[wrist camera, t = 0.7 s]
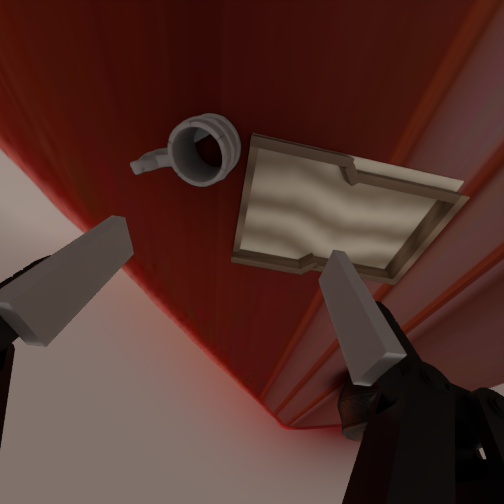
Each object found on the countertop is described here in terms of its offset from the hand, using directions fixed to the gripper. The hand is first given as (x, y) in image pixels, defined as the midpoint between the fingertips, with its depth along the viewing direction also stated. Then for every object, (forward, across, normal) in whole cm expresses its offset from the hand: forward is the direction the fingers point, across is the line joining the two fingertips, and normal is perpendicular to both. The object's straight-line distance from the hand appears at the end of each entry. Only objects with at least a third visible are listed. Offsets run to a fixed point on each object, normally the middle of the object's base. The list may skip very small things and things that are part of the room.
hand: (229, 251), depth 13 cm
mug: (+22, -7, +2) cm, 23 cm away
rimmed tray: (+22, +15, -6) cm, 27 cm away
